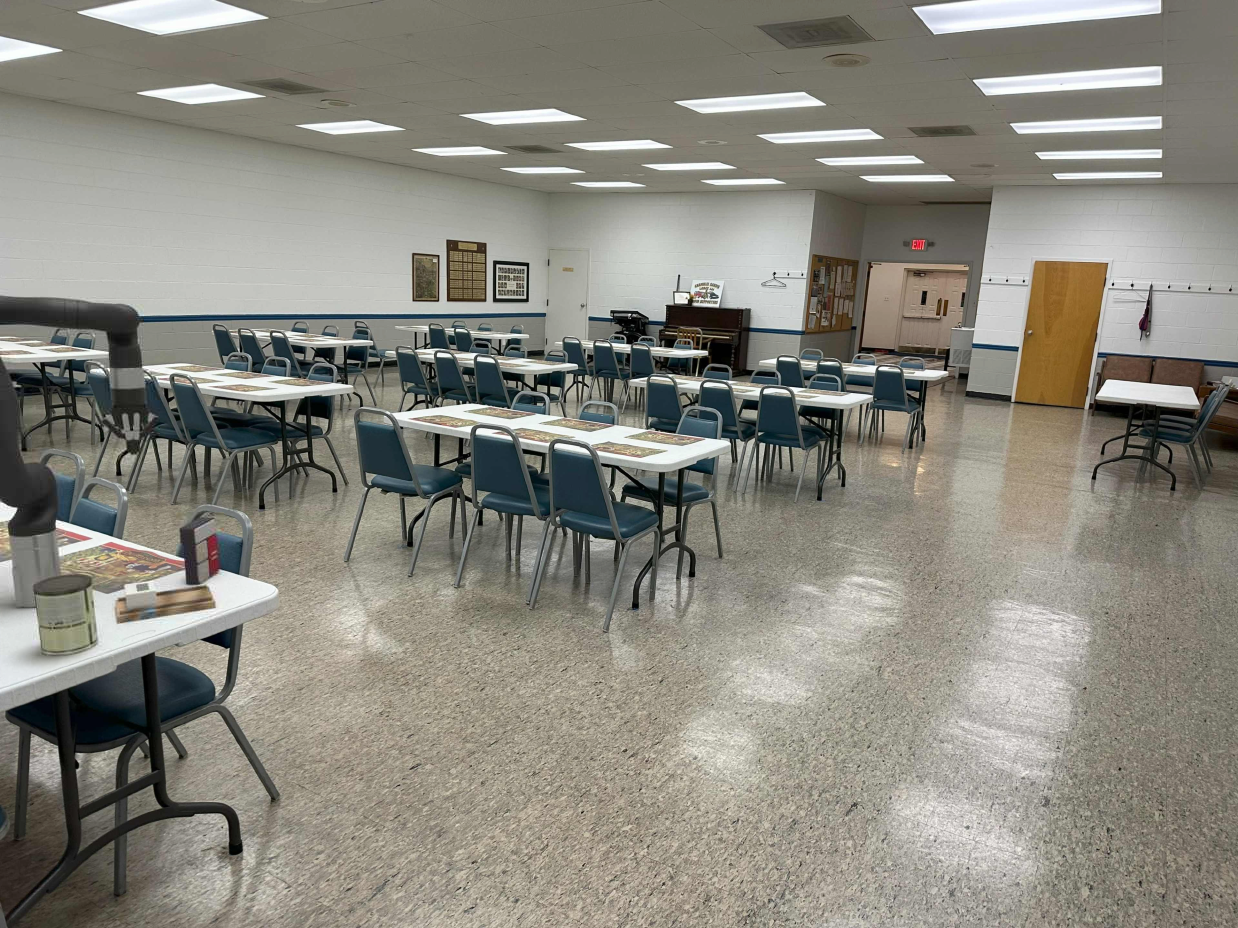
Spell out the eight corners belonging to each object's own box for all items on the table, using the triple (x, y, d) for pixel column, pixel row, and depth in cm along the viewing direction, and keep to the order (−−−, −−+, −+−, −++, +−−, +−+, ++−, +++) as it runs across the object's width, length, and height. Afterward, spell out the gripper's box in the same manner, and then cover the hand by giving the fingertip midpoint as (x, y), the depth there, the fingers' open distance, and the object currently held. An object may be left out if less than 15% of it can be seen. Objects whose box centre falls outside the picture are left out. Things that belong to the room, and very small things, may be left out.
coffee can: (33, 646, 176) (25, 582, 173) (88, 631, 184) (81, 570, 181) (50, 660, 170) (42, 594, 167) (106, 645, 178) (100, 581, 175)
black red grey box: (200, 585, 214) (196, 528, 211) (183, 584, 214) (178, 528, 211) (221, 571, 225) (217, 517, 222) (205, 570, 225) (201, 516, 222)
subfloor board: (117, 623, 189) (116, 613, 189) (115, 606, 199) (114, 596, 199) (215, 607, 200) (214, 598, 199) (209, 591, 210) (208, 583, 209)
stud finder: (127, 611, 192) (125, 594, 191) (125, 600, 198) (124, 584, 197) (157, 607, 195) (156, 590, 194) (154, 596, 201) (153, 580, 200)
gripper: (96, 388, 202) (103, 459, 206) (159, 386, 209) (164, 454, 213) (96, 384, 208) (102, 453, 212) (157, 383, 215) (162, 449, 219)
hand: (133, 454), depth 212 cm, fingers closed
